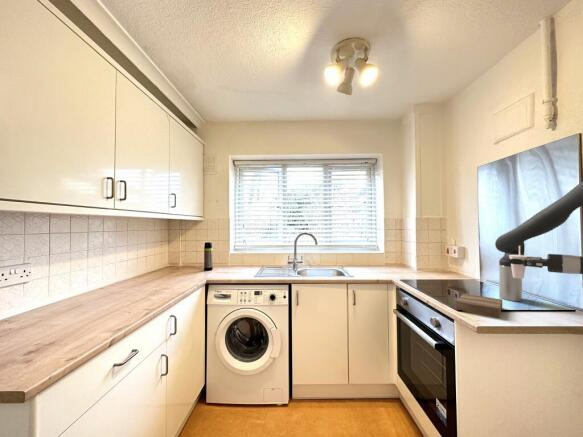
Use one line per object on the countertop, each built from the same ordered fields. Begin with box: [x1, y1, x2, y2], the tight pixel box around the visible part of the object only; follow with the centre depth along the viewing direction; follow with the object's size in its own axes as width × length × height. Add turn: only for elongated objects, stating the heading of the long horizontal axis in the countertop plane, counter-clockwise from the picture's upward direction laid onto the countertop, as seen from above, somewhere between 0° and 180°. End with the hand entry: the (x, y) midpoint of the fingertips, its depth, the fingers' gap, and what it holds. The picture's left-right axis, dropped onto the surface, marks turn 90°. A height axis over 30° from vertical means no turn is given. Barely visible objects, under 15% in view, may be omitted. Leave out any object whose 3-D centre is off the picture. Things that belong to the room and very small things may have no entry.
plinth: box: [455, 293, 503, 319], centre depth 130 cm, size 16×16×4 cm
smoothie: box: [509, 246, 528, 280], centre depth 123 cm, size 6×6×14 cm
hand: (511, 260), depth 124 cm, fingers closed on smoothie, 6 cm apart
